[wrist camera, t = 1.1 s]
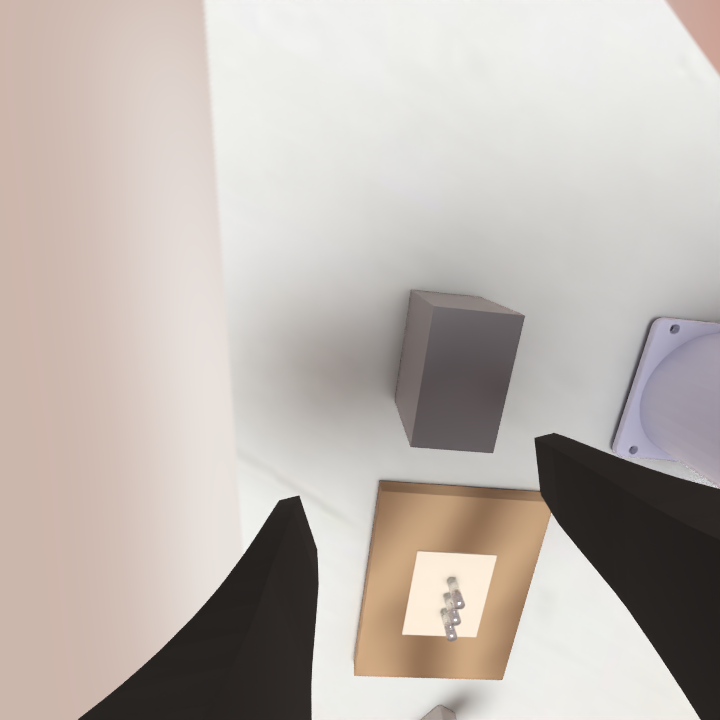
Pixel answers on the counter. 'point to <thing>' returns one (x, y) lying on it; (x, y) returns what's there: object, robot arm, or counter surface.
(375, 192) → the counter surface
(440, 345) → the block
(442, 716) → the lighter
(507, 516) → the board
